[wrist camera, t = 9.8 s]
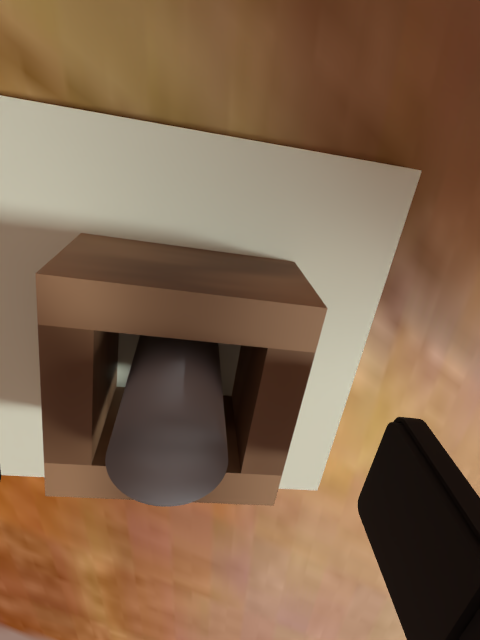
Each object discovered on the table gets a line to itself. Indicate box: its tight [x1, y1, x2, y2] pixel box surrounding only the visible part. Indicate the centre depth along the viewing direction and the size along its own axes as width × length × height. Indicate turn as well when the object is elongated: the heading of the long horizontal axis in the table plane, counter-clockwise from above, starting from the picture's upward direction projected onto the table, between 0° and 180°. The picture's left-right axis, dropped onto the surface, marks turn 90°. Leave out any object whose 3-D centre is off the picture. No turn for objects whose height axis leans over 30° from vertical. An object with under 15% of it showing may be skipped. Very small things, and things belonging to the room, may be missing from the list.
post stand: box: [0, 95, 422, 506], centre depth 13 cm, size 14×14×7 cm
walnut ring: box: [35, 233, 328, 506], centre depth 13 cm, size 7×7×4 cm
